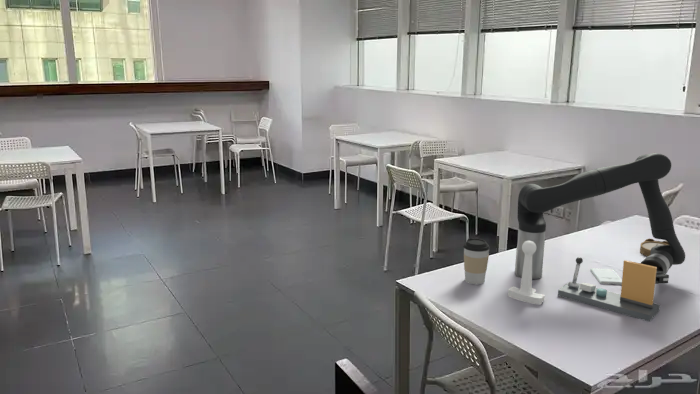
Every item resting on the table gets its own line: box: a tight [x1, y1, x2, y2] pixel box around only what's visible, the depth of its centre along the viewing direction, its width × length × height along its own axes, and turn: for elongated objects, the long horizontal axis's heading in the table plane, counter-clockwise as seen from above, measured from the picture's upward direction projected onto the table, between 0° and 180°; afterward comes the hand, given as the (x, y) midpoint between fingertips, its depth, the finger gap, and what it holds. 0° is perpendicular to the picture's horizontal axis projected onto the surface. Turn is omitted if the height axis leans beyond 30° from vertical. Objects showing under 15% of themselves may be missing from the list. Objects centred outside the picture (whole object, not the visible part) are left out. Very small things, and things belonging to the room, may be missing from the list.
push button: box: [596, 287, 608, 297], centre depth 178 cm, size 3×3×2 cm
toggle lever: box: [567, 256, 584, 289], centre depth 184 cm, size 3×2×10 cm
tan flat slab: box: [620, 259, 657, 309], centre depth 169 cm, size 9×2×14 cm, turn 47°
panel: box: [557, 280, 661, 322], centre depth 177 cm, size 28×10×2 cm, turn 47°
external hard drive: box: [589, 267, 622, 286], centre depth 198 cm, size 2×8×12 cm
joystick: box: [507, 241, 546, 306], centre depth 179 cm, size 11×8×20 cm
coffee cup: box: [462, 237, 490, 285], centre depth 194 cm, size 9×9×15 cm
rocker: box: [579, 282, 597, 292], centre depth 181 cm, size 4×4×2 cm
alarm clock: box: [639, 238, 670, 257], centre depth 224 cm, size 11×5×15 cm
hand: (638, 281), depth 169 cm, fingers closed
